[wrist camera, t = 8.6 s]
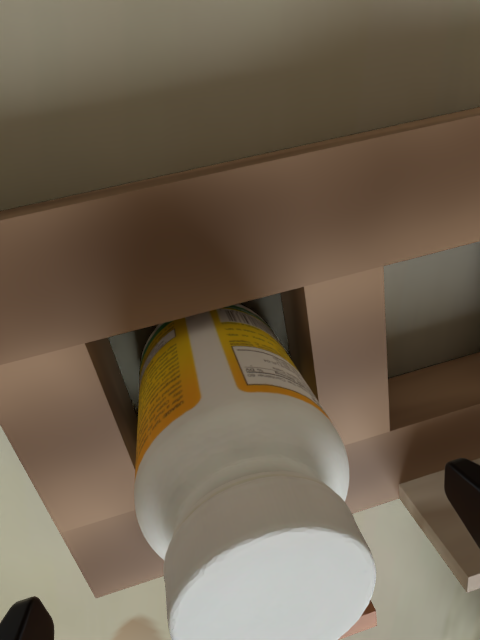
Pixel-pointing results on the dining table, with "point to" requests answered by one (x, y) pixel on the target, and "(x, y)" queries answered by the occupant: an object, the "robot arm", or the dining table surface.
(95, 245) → the socket board
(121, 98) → the dining table surface
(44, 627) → the robot arm
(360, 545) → the supplement bottle
